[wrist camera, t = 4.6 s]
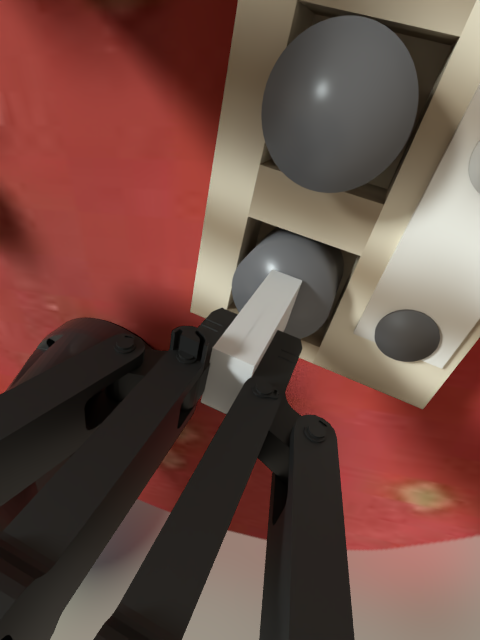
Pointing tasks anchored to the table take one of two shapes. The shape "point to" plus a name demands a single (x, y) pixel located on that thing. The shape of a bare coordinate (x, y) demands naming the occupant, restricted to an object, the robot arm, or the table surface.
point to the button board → (364, 200)
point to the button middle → (339, 104)
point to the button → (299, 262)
